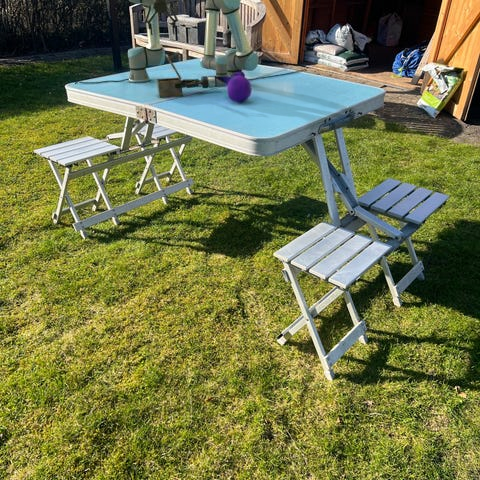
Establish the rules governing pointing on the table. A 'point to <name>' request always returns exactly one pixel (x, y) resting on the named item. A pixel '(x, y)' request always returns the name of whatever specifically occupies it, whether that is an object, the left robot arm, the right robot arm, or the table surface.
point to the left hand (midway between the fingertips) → (162, 34)
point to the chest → (168, 87)
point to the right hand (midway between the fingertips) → (174, 84)
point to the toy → (237, 86)
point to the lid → (172, 63)
